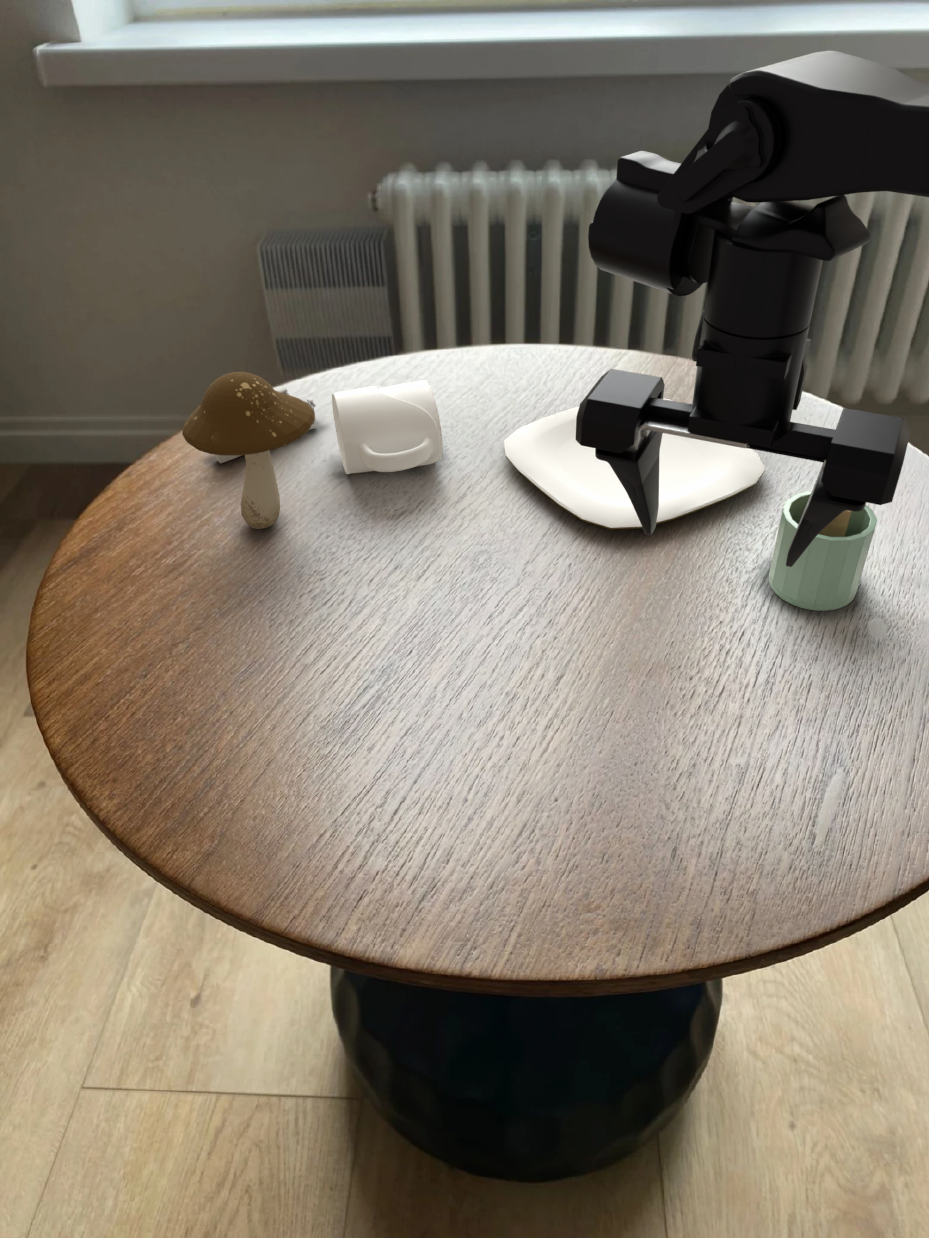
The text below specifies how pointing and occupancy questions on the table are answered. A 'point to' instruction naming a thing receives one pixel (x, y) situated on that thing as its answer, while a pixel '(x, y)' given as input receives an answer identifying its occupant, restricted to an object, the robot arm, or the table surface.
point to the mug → (387, 427)
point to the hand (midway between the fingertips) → (718, 546)
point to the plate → (595, 491)
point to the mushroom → (249, 435)
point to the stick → (837, 526)
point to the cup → (820, 560)
